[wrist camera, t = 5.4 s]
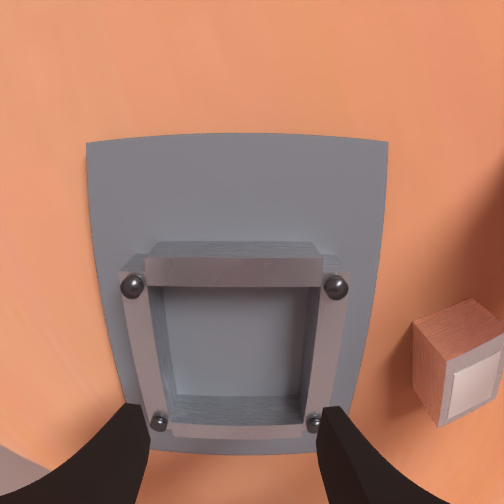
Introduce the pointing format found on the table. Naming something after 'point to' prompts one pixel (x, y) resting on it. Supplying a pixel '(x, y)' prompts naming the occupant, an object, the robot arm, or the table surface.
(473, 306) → the small brown box
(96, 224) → the tray
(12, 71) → the table surface
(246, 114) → the table surface
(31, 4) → the table surface
